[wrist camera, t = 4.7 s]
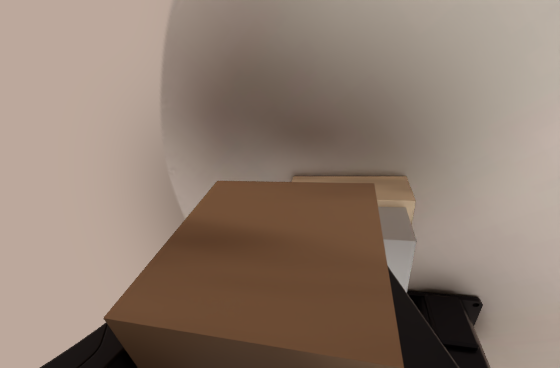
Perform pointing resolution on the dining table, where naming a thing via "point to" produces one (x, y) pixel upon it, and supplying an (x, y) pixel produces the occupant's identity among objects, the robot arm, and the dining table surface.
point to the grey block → (398, 242)
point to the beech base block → (376, 189)
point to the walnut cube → (266, 283)
